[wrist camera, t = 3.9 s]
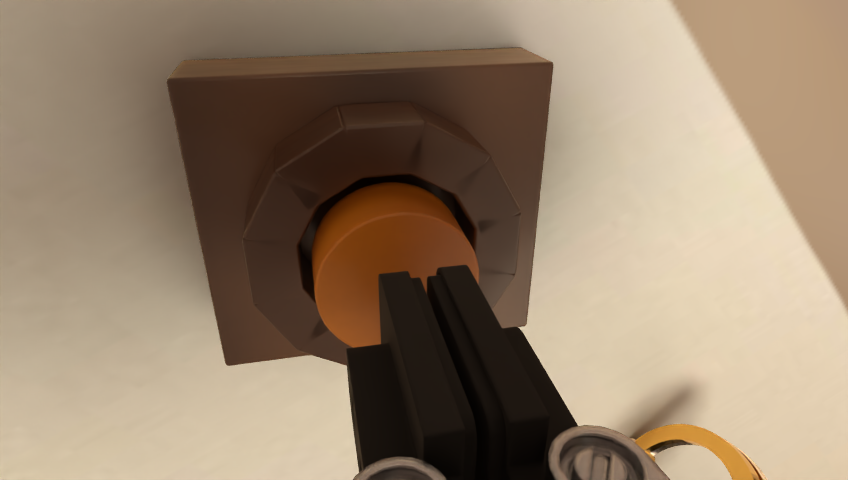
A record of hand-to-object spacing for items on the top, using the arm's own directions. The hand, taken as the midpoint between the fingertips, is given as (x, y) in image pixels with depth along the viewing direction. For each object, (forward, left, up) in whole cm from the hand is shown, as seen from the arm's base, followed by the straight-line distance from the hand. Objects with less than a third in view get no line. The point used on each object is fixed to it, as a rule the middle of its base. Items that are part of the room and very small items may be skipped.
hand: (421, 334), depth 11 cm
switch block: (0, 0, -7) cm, 7 cm away
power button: (0, 0, -3) cm, 3 cm away
